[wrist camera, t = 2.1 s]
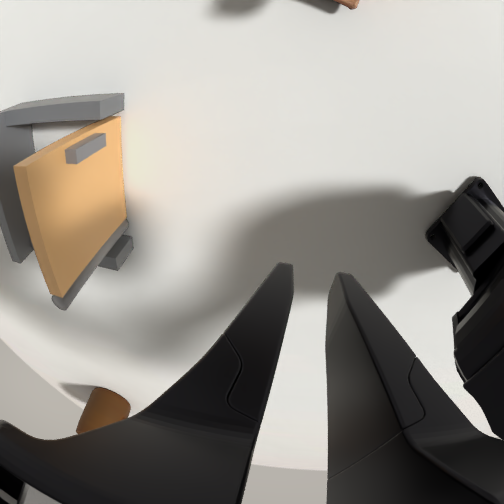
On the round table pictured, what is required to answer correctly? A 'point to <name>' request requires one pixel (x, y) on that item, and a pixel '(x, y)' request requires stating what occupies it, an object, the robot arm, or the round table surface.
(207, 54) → the round table surface
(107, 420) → the mug
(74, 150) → the side door
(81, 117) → the grey cabinet body
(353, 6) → the electronic device
